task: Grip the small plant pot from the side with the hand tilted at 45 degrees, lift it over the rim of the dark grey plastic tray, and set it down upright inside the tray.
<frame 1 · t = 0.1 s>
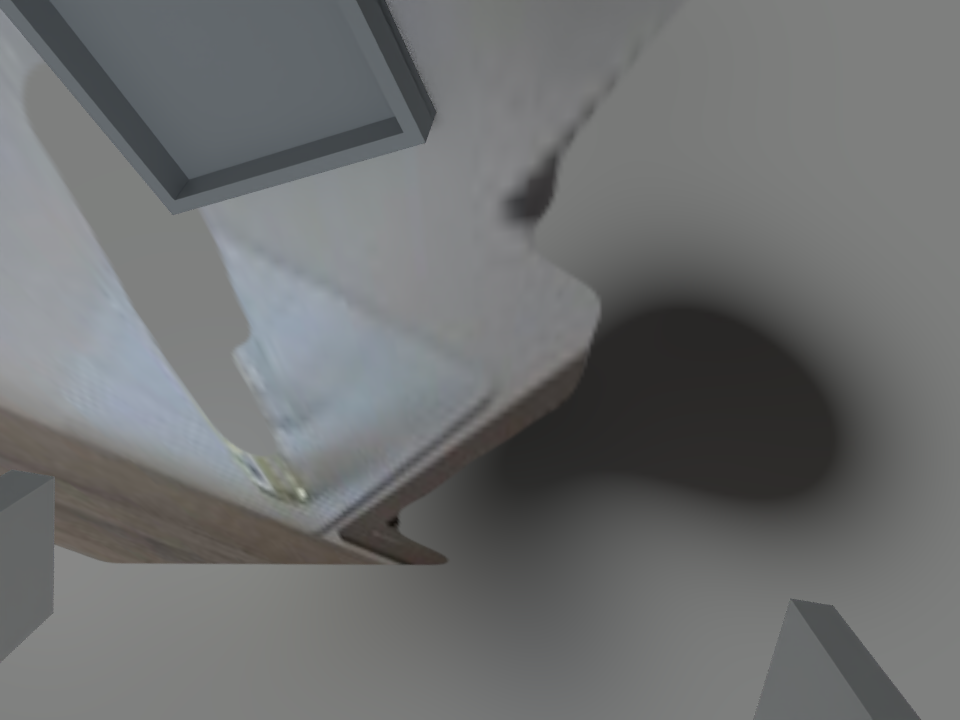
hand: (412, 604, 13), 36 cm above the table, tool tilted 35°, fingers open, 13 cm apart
tray: (215, 9, 42), on the table
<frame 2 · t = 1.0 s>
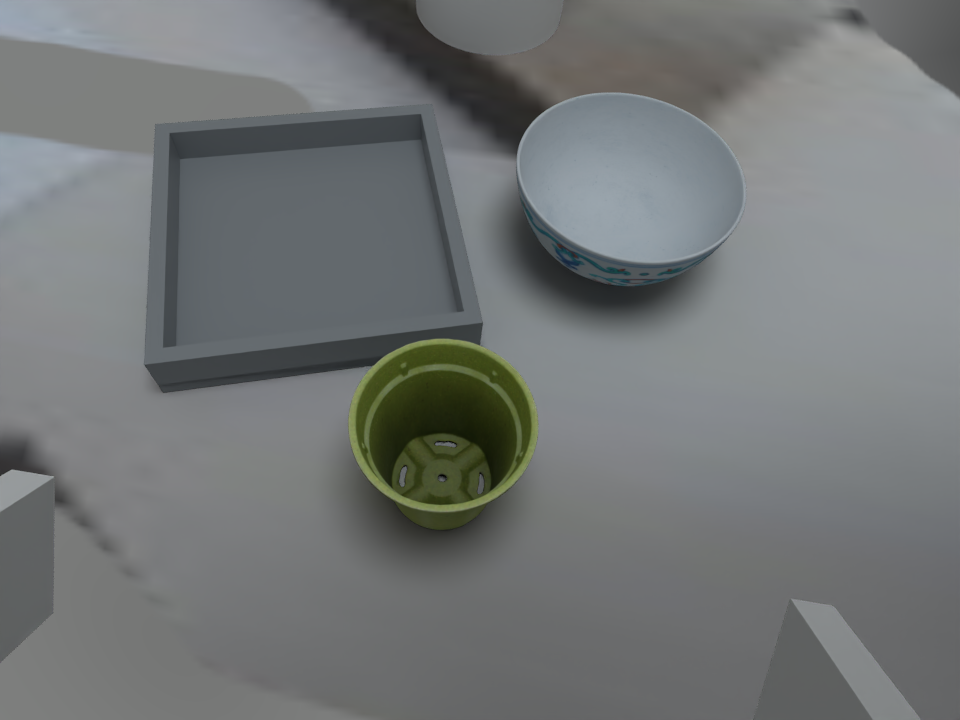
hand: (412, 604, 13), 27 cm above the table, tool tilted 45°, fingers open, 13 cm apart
tray: (314, 249, 50), on the table
canister: (488, 10, 66), on the table
chinaware: (604, 248, 52), on the table
plant pot: (440, 482, 42), on the table
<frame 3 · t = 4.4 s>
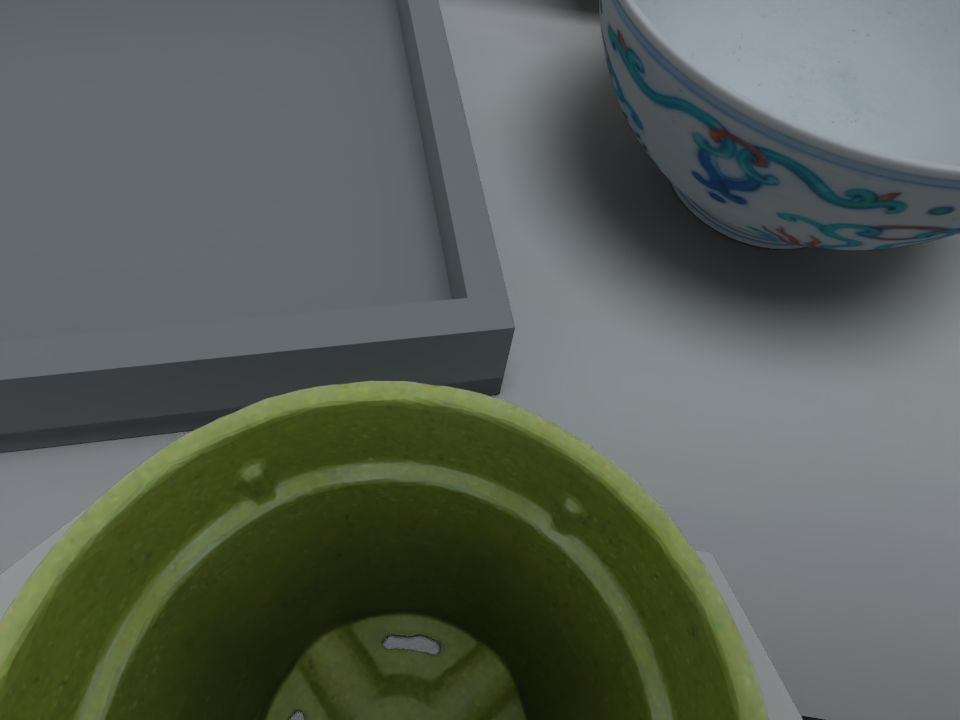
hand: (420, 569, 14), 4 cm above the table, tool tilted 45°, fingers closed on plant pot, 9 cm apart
tray: (149, 163, 23), on the table
chinaware: (754, 182, 26), on the table
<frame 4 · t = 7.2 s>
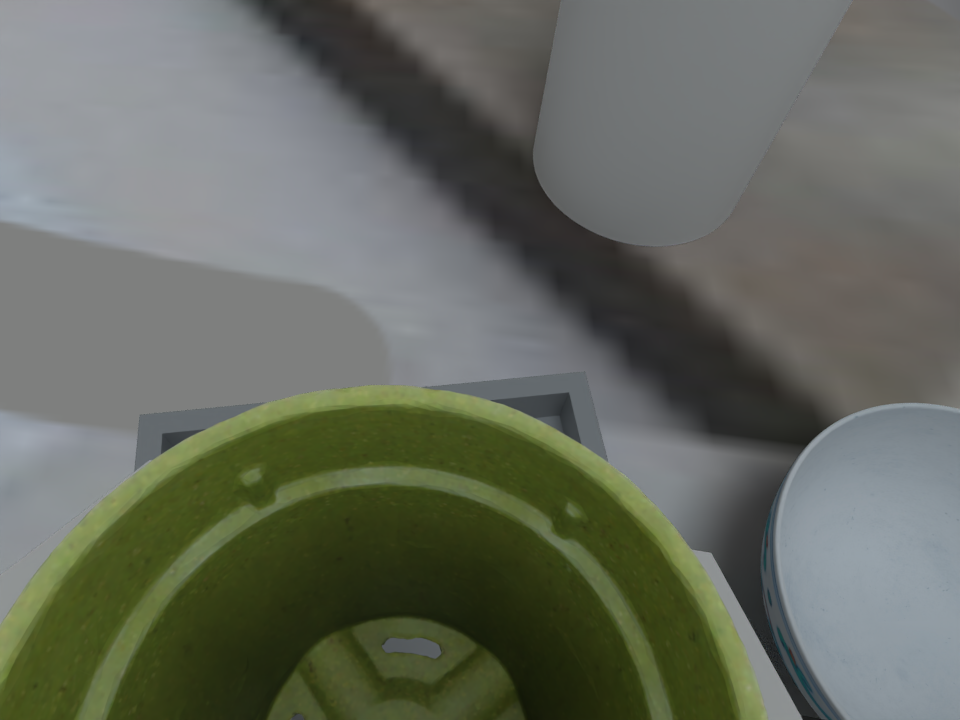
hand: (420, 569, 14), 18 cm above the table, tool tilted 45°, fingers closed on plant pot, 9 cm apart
tray: (394, 636, 30), on the table
canister: (635, 166, 46), on the table
chinaware: (862, 627, 32), on the table
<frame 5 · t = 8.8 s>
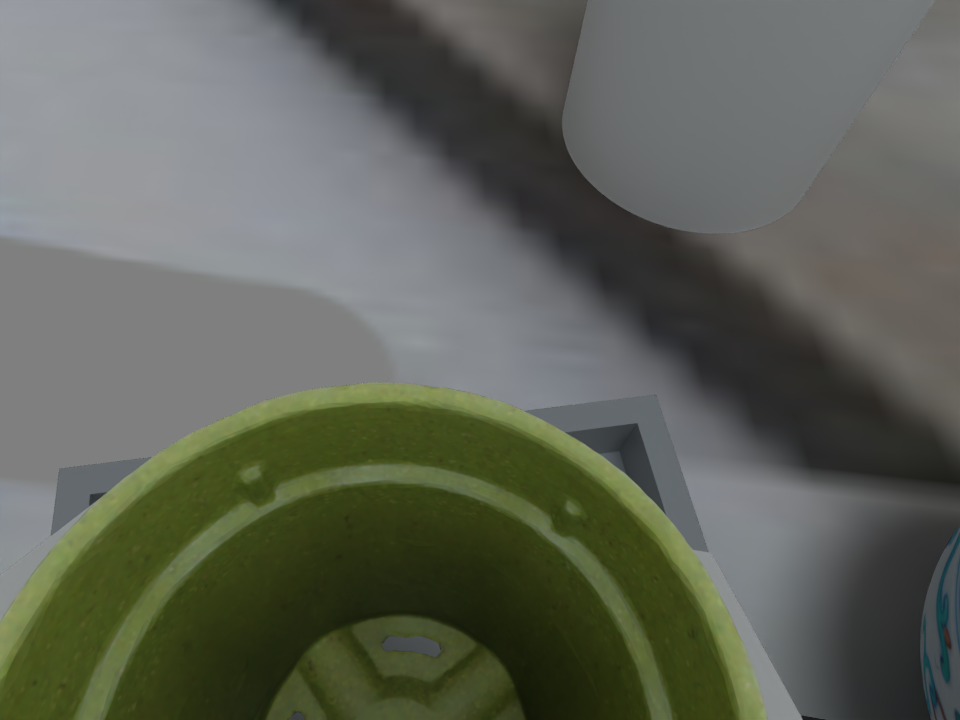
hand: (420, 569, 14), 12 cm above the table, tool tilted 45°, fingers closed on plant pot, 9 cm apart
canister: (685, 139, 38), on the table
when the fingers open (6 cm above the table, at t = 10.2 s): plant pot drops 1 cm, resting on tray.
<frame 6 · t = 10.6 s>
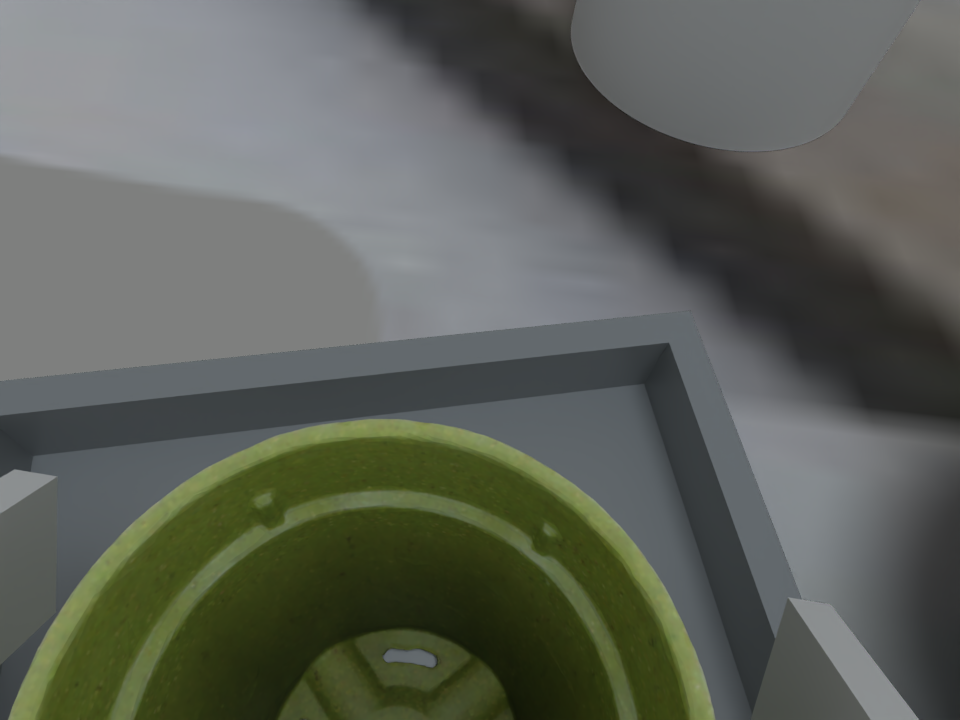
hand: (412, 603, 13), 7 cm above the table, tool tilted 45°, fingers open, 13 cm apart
canister: (710, 53, 33), on the table
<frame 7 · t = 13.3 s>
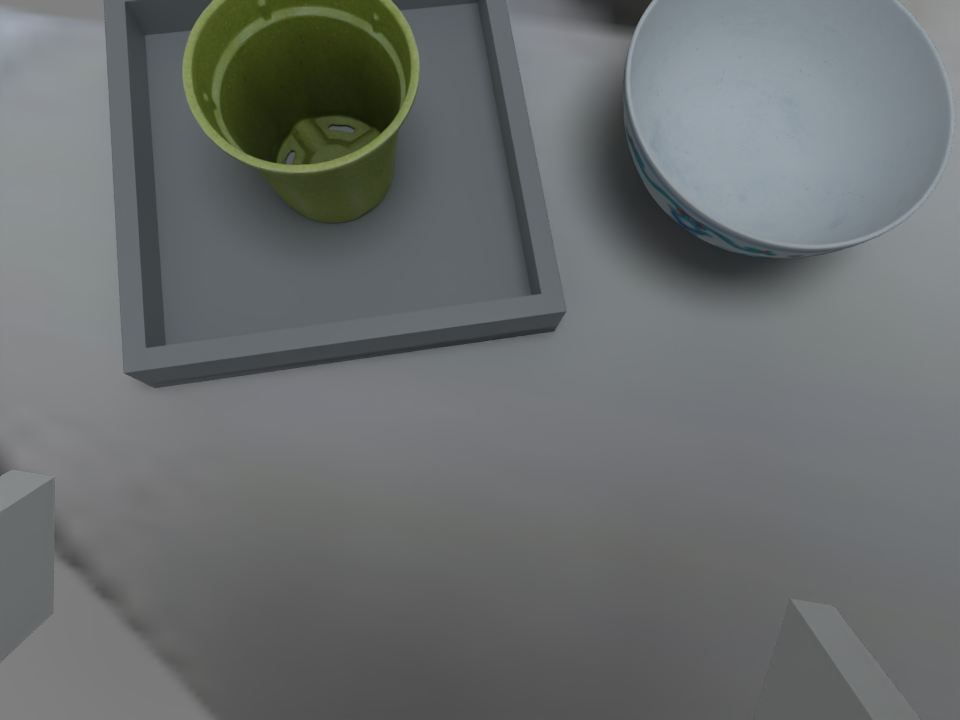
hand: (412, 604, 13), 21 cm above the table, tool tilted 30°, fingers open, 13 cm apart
tray: (336, 177, 37), on the table
chinaware: (722, 175, 39), on the table
plant pot: (333, 172, 37), point 1 cm above the table, touching tray
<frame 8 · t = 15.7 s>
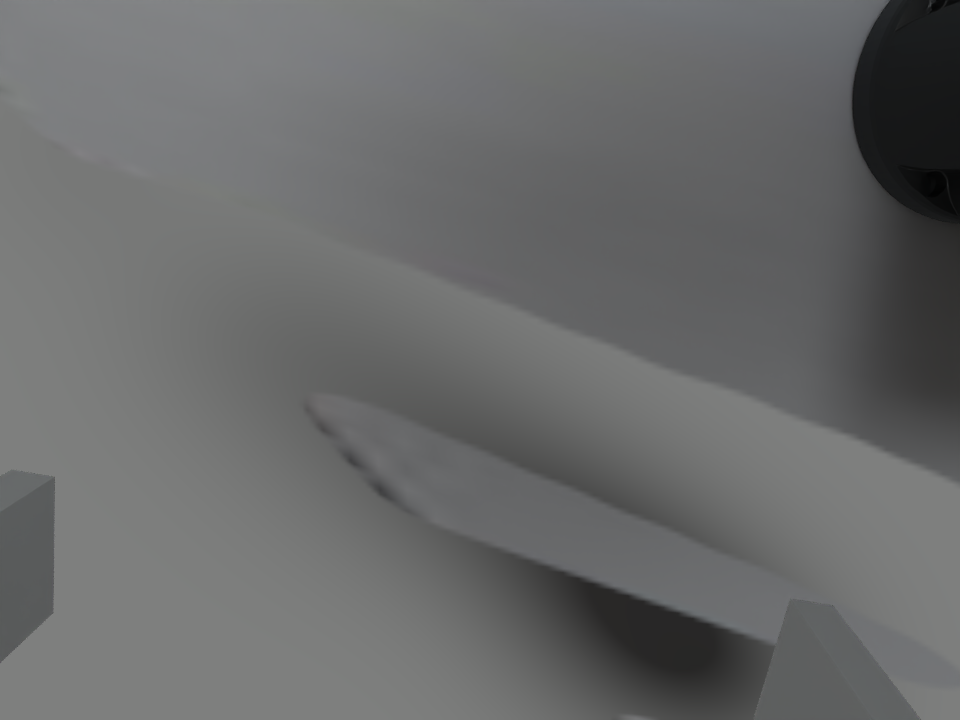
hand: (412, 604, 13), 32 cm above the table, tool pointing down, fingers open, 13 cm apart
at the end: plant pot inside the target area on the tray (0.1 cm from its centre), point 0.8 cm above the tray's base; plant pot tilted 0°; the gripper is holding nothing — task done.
